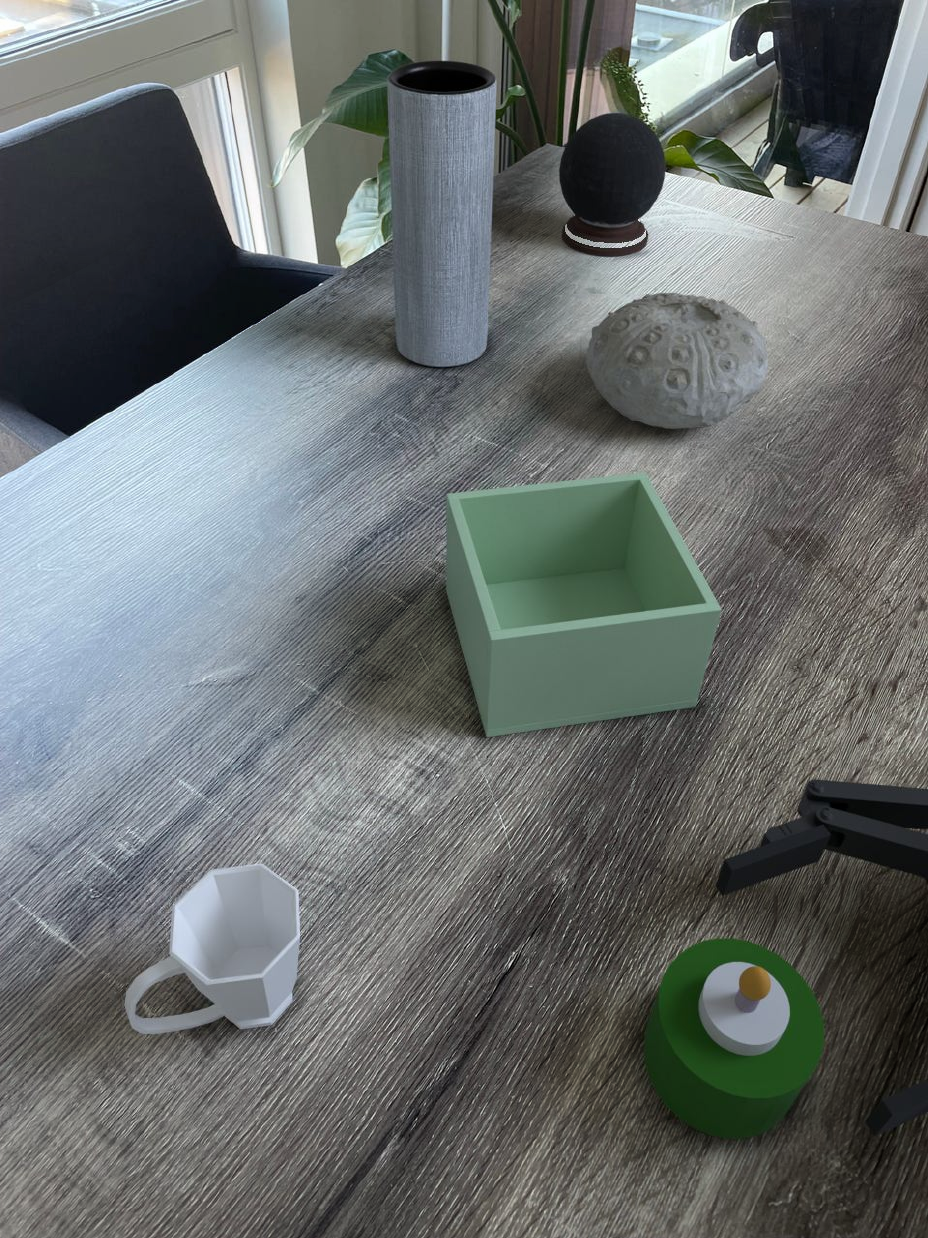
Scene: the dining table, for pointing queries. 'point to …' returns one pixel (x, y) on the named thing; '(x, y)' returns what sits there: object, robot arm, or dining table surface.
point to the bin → (575, 603)
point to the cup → (229, 950)
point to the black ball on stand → (611, 182)
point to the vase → (441, 208)
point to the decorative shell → (677, 360)
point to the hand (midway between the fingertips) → (792, 988)
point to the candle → (732, 1037)
